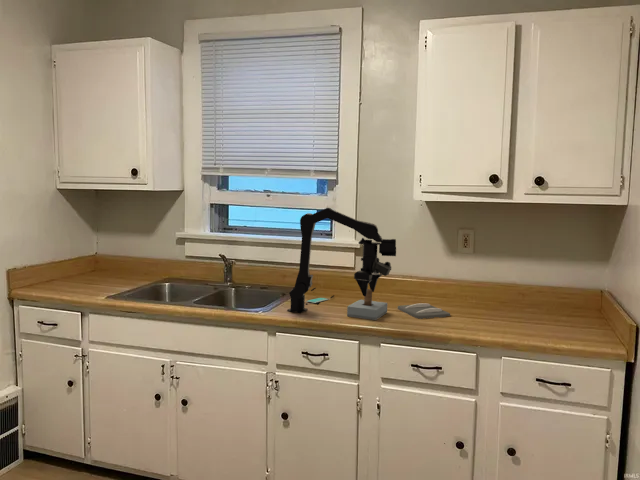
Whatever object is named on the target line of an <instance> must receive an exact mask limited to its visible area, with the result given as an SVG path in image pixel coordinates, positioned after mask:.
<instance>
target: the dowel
mask: <svg viewBox="0 0 640 480" xmlns="http://www.w3.org/2000/svg"><path fill="white" fill-rule="evenodd" d="M363 298H364V299H363V300H364V305H365V306H372V301H373V292H372V290H371V289H370V288H368V289H367V294H366V296H363Z"/></svg>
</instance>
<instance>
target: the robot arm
mask: <svg viewBox="0 0 640 480" xmlns="http://www.w3.org/2000/svg"><path fill="white" fill-rule="evenodd" d="M326 219H329V220H331V221H334V222H336V223H338V224H339V225H340V224H341V225H342V226H346V227H348V228H351V229H353V230H355V232H357V233H358V234H359V235H361V236H363V237H362V238H361V239H360V240H359V241H358V244H359V245H362V257H361V258H360V261H362V266H361V267H360V270H358V271H356V272H354V274H353V279H354V280H355V281H356V283H357V284H358V287H359V289H360V292H361V293H362V296H363V297H364V296H366V294H367V289H371V290H372V293H374V292H375V290H376V286H377V283H378V281H379V278H381V277H382V276H384V277H387V276H389V274H390V272H391V271H392V266H391V262H390V261H385V262H381V261H380V258H379V257H378V254H380V255H381V256H382V257H397V246H396V245H397V240H396V238H389V239H387V238H382V236H381V235H380V233H379V229H378V227H377V225H376V224H375V223H371V222H367V221H363V220H358V219H355V218H353V217H351V216H348V215H346V214H344V213H341V212H339V211H338V210H334V209H333V208H330V207H325V208H324V209H322V210H319V211H317V212H314V213H309V212H307V213H305V214H303V215H302V216H300V219H299V226H300V231H301V245H300V255H299V258H300V259H299V270H298V273H297V275H296V276H297V277H296V280H295V284H294V287H292V288H291V290H290V291H289V293H288V294H289V297H290V308H287V310H286V311H287V312H292V313H299V314H302V313H304V312H306V311H308V308H307V307H306V306H305V305H306V300H305V299H306V296H305V294H306V293H308V291H309V289H310V288H311V287H312V285H313V278H314V275H313V274H311V273H310V261H311V251H312V250H311V249H312V238H313V235H314V234H313V233H314V231H315V228H316V225H317V223H319V222H321V221H323V220H326ZM365 238H366V239H365ZM378 246H379V247H378Z"/></svg>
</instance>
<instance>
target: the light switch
mask: <svg viewBox="0 0 640 480" xmlns="http://www.w3.org/2000/svg"><path fill="white" fill-rule="evenodd" d="M397 310H399V311H401V312H403V313H405V314H407V315H409V316H411V317H413V318H415V319H417V320H424V319H423V318H426V319H435V318H434V317H439V318H447V317H446V316H450V317H451V313H450V312H448V311H446V310H443V308H438V307H436V306H434V305H431V304H430V303H425V302H424V303H422V302H420V303H419V302H418V303H414V304H406V305H398V306H397Z"/></svg>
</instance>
